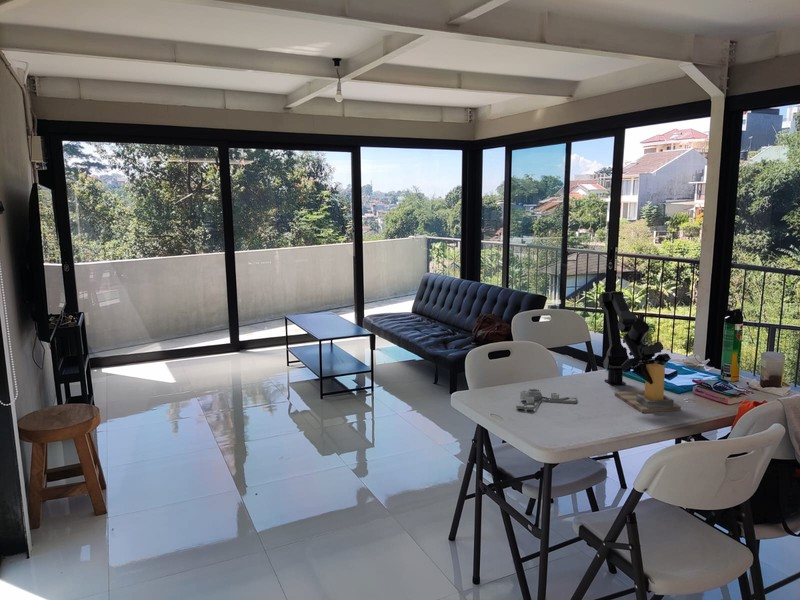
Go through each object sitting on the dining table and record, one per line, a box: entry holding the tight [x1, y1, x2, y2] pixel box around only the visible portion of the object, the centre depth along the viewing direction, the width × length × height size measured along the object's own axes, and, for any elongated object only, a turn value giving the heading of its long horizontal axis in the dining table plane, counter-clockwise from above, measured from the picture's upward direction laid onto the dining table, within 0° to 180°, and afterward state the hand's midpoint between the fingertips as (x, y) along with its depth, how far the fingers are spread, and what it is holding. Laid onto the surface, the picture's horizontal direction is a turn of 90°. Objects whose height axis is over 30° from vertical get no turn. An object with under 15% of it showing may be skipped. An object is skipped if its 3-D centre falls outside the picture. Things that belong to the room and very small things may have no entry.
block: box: [644, 363, 666, 401], centre depth 215 cm, size 4×4×13 cm
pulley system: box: [515, 388, 578, 411], centre depth 225 cm, size 27×5×15 cm
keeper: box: [614, 389, 682, 413], centre depth 221 cm, size 20×15×4 cm
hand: (657, 382), depth 214 cm, fingers closed on block, 4 cm apart
